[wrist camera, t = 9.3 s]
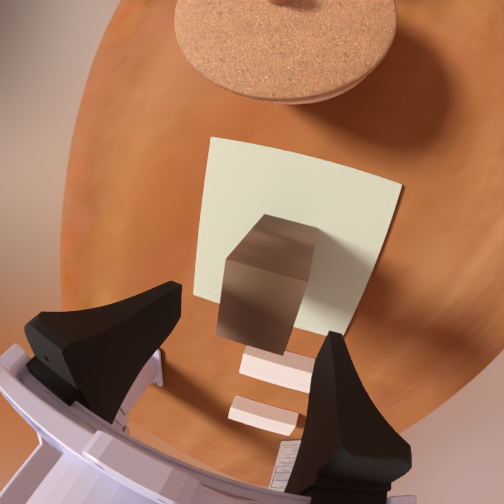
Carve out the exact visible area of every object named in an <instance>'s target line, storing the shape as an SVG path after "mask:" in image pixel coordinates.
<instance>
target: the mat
mask: <svg viewBox="0 0 504 504" xmlns="http://www.w3.org/2000/svg"><path fill="white" fill-rule="evenodd" d="M401 187H402V184H400V183H397V182H395V181H392V180H389V179H386V178H383V177H380V176H377V175H374V174H371V173H368V172H364V171H361V170H358V169H355V168H351V167H348V166H345V165H341V164H338V163H334V162H330V161H327V160H323V159H319V158H315V157H312V156H308V155H304V154H299V153H295V152H291V151H287V150H282V149H277V148H273V147H268V146H263V145H258V144H253V143H248V142H242V141H236V140H231V139H224V138H218V137H211V141H210V148H209V154H208V161H207V168H206V176H205V183H204V191H203V199H202V207H201V216H200V225H199V235H198V244H197V255H196V266H195V278H194V291H193V295H196V296H199V297H202V298H205V299H208V300H210V301H213V302H216V303H219V304H220V297H221V290H222V282H223V274H224V267H225V260H226V258H227V257H228V256H229V254H230V253H231V252H232V251H233V250H234V249H235V247H236V246H237V245H238V244H239V243H240V242H241V240H242V239H243V238H244V237H245V236H246V235H247V233H248V232H249V231H250V230H251V229H252V228H253V226H254V225H255V224H256V223H257V222H258V221H259V219H260V218H261V217H262V216H263V215H264V214H267V215H271V216H275V217H279V218H283V219H286V220H290V221H294V222H298V223H302V224H305V225H309V226H313V227H316V228H318V229H317V235H316V241H315V247H314V252H313V258H312V263H311V269H310V274H309V279H308V284H307V287H306V290H305V293H304V296H303V299H302V302H301V305H300V308H299V311H298V314H297V317H296V320H295V323H294V326H293V327H296V328H300V329H303V330H307V331H311V332H314V333H318V334H322V335H325V336H327V334H328V332H329V330H330V331H334V332H337V333H341V334H342V335H344V333H345V331H346V329H347V327H348V325H349V323H350V321H351V319H352V316H353V314H354V312H355V310H356V308H357V306H358V303H359V301H360V299H361V297H362V294H363V292H364V290H365V287H366V285H367V283H368V280H369V278H370V276H371V273H372V271H373V268H374V266H375V263H376V261H377V258H378V255H379V253H380V250H381V247H382V245H383V242H384V239H385V236H386V234H387V231H388V228H389V225H390V222H391V219H392V216H393V213H394V210H395V207H396V204H397V200H398V197H399V194H400V191H401Z"/></svg>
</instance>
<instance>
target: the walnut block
mask: <svg viewBox="0 0 504 504" xmlns="http://www.w3.org/2000/svg"><path fill="white" fill-rule="evenodd" d="M317 229H318V228H316V227H313V226H309V225H305V224H302V223H298V222H294V221H290V220H286V219H283V218H279V217H275V216H271V215H267V214H264V215H263V216H262V217H261V218H260V219H259V221H258V222H257V223H256V224H255V225H254V226H253V228H252V229H251V230H250V231H249V232H248V233H247V235H246V236H245V237H244V238H243V239H242V240H241V242H240V243H239V244H238V245H237V246H236V247H235V249H234V250H233V251H232V252H231V253H230V254H229V256H228V257H227V258H226V260H225V267H224V274H223V282H222V290H221V297H220V305H219V313H218V321H217V330H216V335H218V336H221V337H224V338H227V339H230V340H233V341H236V342H239V343H242V344H245V345H248V346H251V347H254V348H258V349H261V350H264V351H267V352H271V353H274V354H278V355H281V356H283V355H284V352H285V349H286V346H287V343H288V341H289V338H290V335H291V332H292V329H293V326H294V323H295V320H296V317H297V314H298V311H299V308H300V305H301V302H302V299H303V296H304V293H305V290H306V287H307V284H308V279H309V274H310V269H311V263H312V258H313V252H314V247H315V241H316V235H317Z"/></svg>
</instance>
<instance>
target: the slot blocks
mask: <svg viewBox="0 0 504 504" xmlns="http://www.w3.org/2000/svg"><path fill="white" fill-rule="evenodd" d="M314 363H315V359H314V358H310V357H306V356H303V355H299V354H295V353H292V352H288V351H285V352H284V355H283V356H281V355H278V354H274V353H271V352H267V351H264V350H261V349H258V348H254V347H251V346H248V345H247V347H246V349H245V351H244V354H243V358H242V362H241V366H240V371H239V373H241V374H244V375H247V376H250V377H254V378H257V379H260V380H263V381H266V382H270V383H273V384H277V385H280V386H284V387H287V388H291V389H295V390H299V391H302V392H306V393H309V392H310V383H311V376H312V372H313V367H314ZM228 418H229V419H232V420H235V421H238V422H241V423H244V424H247V425H251V426H254V427H257V428H261V429H264V430H268V431H271V432H275V433H279V434H283V435H287V436H289V435H290V433H291V432H292V431H293V429H294V428H295V426H296V422H297V418H298V413H296V412H292V411H288V410H285V409H281V408H277V407H274V406H270V405H267V404H263V403H260V402H257V401H253V400H250V399H247V398H244V397H241V396H238V395H236V396H235V398H234V400H233V403H232V405H231V407H230V411H229V415H228Z"/></svg>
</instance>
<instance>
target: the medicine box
mask: <svg viewBox="0 0 504 504" xmlns="http://www.w3.org/2000/svg"><path fill="white" fill-rule="evenodd" d="M300 443H301V440H283V441H281V444H280V448H279V452H278V456H277V460H276V463H275V467H274V471H273V474H272V478H271V481H270V485H269V489H270V490H274V491H279V492H284V490H285V488H286V485H287V482H288V480H289V477H290V474H291V471H292V469H293V466H294V463H295V460H296V456H297V453H298V450H299V446H300Z"/></svg>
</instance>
